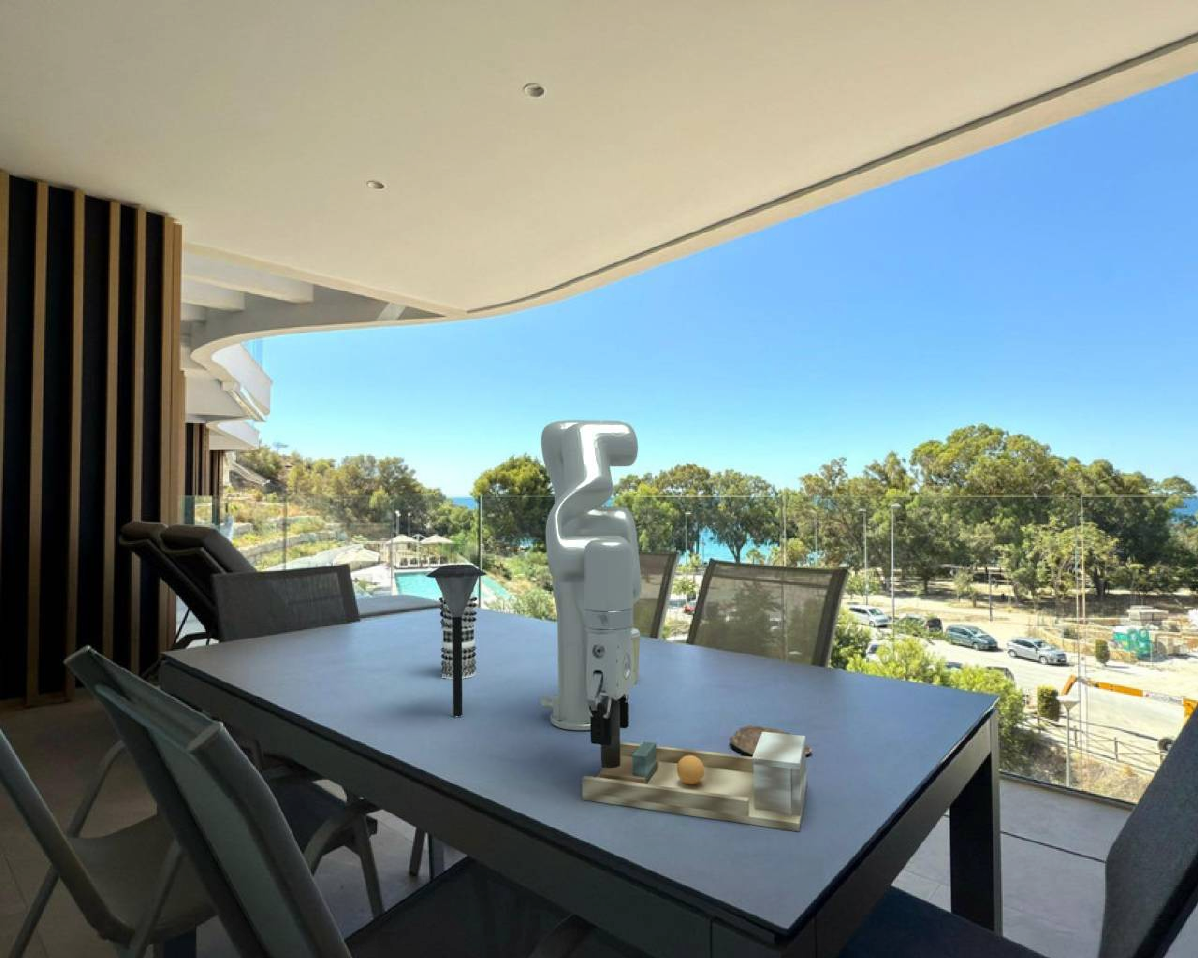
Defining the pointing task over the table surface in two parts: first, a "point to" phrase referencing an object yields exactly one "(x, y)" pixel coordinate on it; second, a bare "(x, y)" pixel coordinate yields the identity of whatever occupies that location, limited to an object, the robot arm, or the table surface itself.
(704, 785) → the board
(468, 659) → the decorative candle
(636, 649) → the coffee cup
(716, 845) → the table surface
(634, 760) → the kicker
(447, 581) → the solar garden light
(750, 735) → the shell
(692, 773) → the ball
